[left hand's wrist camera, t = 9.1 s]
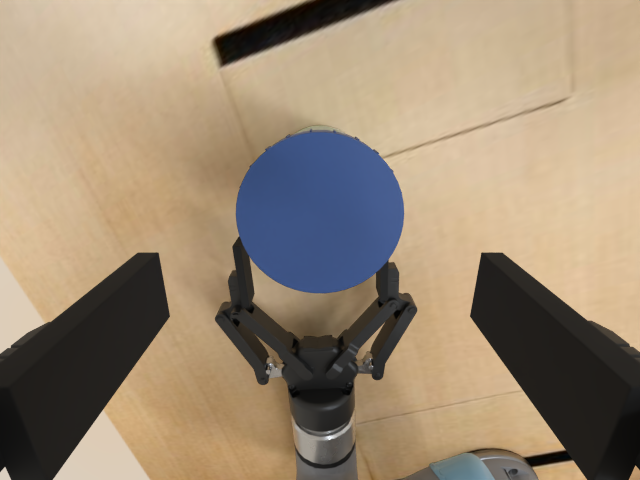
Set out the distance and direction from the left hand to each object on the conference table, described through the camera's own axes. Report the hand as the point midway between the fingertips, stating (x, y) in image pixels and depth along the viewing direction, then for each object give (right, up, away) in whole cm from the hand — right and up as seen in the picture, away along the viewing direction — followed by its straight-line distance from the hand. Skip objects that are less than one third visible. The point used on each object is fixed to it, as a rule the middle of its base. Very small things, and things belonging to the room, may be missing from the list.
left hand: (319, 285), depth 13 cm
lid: (0, +3, +8) cm, 9 cm away
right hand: (-1, +2, +20) cm, 20 cm away
